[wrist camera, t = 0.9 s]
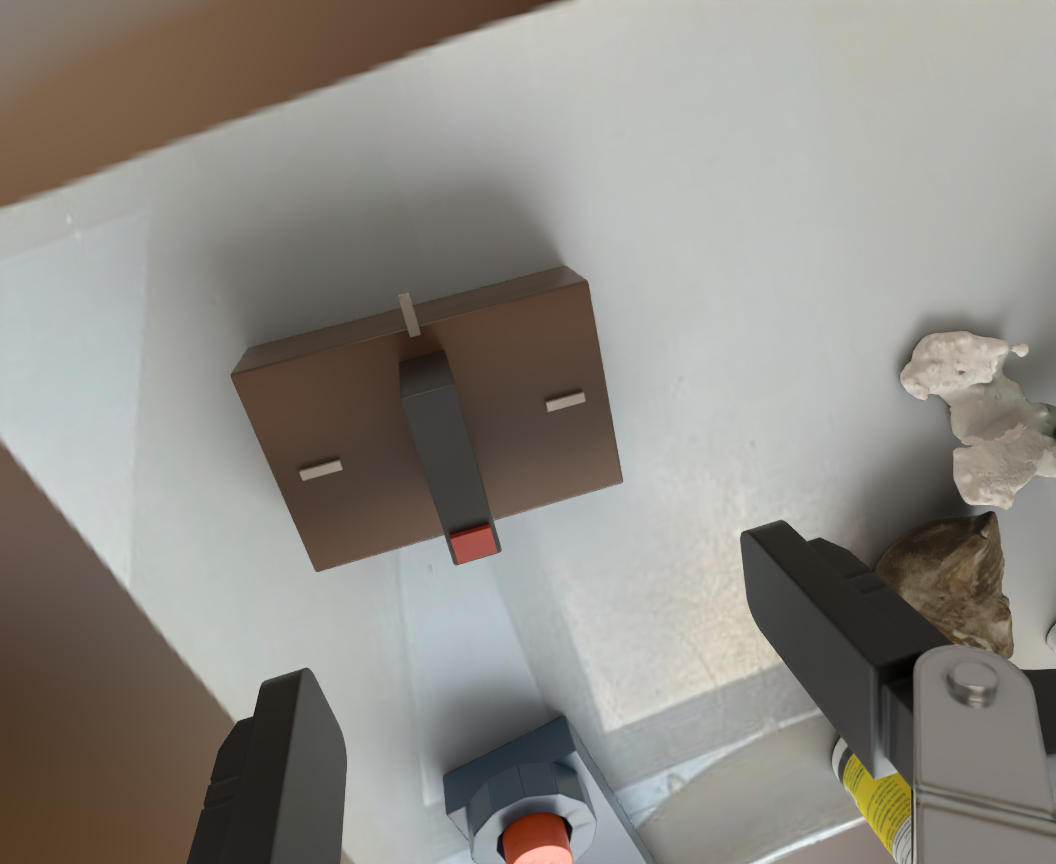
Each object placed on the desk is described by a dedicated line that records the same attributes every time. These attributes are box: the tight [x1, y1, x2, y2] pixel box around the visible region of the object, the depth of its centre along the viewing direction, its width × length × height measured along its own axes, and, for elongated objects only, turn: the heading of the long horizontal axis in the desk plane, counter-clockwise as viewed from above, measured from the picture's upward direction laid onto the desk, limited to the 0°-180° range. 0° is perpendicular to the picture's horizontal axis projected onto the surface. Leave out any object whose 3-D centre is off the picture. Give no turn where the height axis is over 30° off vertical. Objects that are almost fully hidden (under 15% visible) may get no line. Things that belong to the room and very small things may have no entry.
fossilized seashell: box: [874, 511, 1014, 659], centre depth 33 cm, size 8×7×10 cm
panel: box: [231, 266, 623, 572], centre depth 25 cm, size 10×12×3 cm
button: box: [502, 812, 573, 864], centre depth 31 cm, size 3×3×2 cm
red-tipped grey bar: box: [399, 350, 502, 565], centre depth 22 cm, size 6×2×4 cm, turn 12°
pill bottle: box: [832, 737, 911, 864], centre depth 35 cm, size 6×6×11 cm
